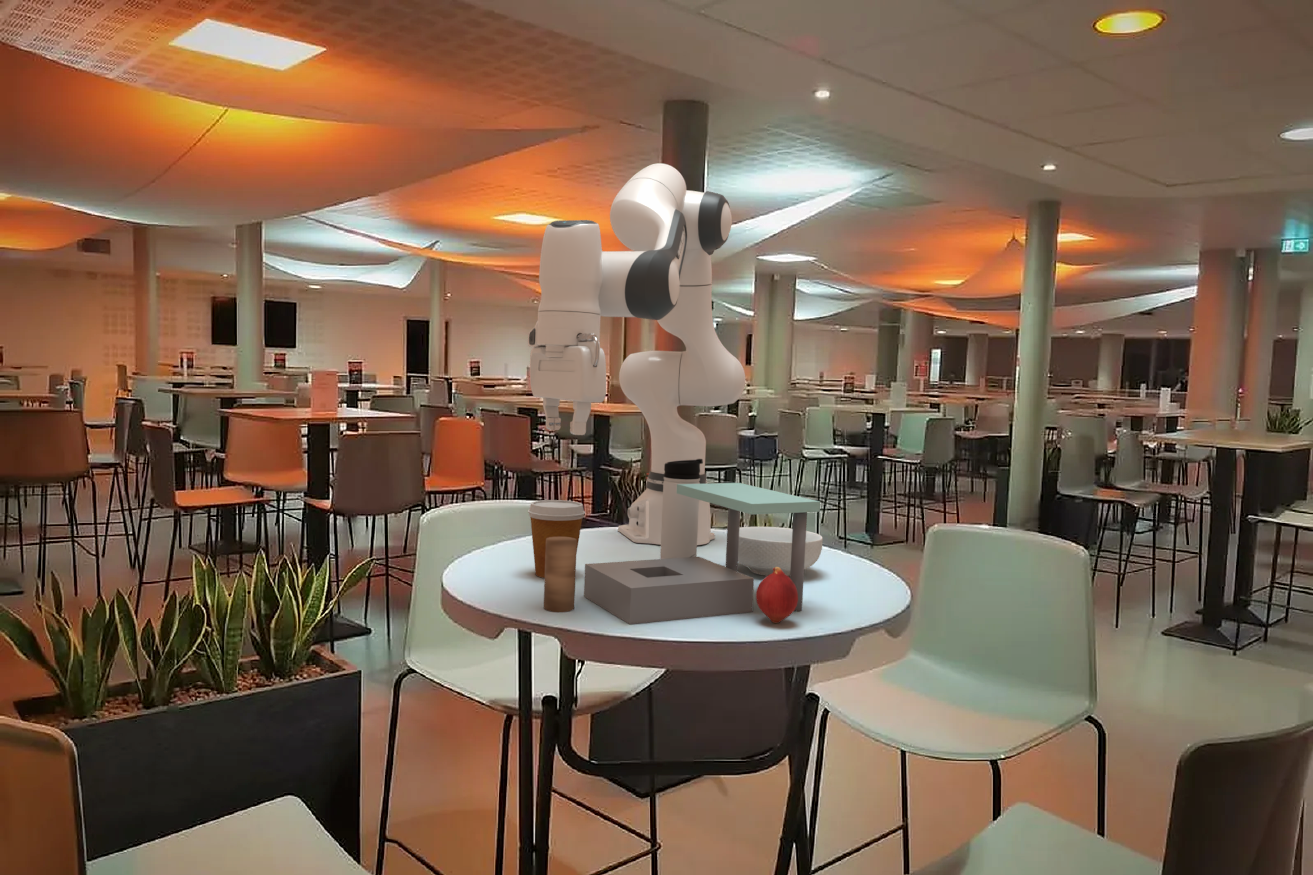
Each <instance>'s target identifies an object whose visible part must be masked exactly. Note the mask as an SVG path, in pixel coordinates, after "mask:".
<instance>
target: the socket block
mask: <svg viewBox="0 0 1313 875" xmlns="http://www.w3.org/2000/svg"><path fill="white" fill-rule="evenodd" d="M754 582H755V578H754V577H752V576H749V575H746V574H745V573H742V572H739V571H738V570H737V571H734V570H732V569H729V568H727V567H726V566H724V565H721V564H720V563H716V562H714V561H711V560H708V559H705V558H704V557H701V556H696V557H685V558H670V559H660V558H659V559H657V558H655V559H643V560H642V559H641V560H628V561H627V560H626V561H612V562H611V561H609V562H595V563H594V562H593V563H584V584H583V597H584V598H586V599H588V600H589V601H591V602H592V603H595V604H596V605H597V606H599V607H600V608H602V609H604V610H605V611H607V612H609V613H610V614H612V615H614V616H616V617H617V618H618V619H620V620H622V621H623V622H625V623H626V624H628V625H635V624H644V623H645V624H647V623H655V622H664V621H666V622H667V621H674V620H675V621H676V620H683V619H694V618H695V619H696V618H703V617H713V616H722V615H723V616H725V615H736V614H743V613H745V614H746V613H752V612H753V606H754V605H753V603H754V602H753V601H754Z"/></svg>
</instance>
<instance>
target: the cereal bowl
mask: <svg viewBox="0 0 1313 875" xmlns="http://www.w3.org/2000/svg"><path fill="white" fill-rule="evenodd" d="M792 532H793V528H788V527H778V526H776V527H775V526H742V527H741V526H740V528H739V548H738V563H739V564H741V565H742V566H744V567H747V568H748V569H749V570H750V572H752V573H754V574H756V575H760V576H765V577H767V576H768V575H770V574H772V573H773V568H775V567H779V568H780V569H781V570H782V571H783V572H784V574H786V575H787V576H788V577H790V569H791V550H792ZM823 541H824V540H823V536H822V535H821V534H819V533H816V532H813V531H808V530H806V544H805V562H804V570H806V569H809V568H810V567H812V566H813V565H814V564H815V563H816V562H818V560H819V558H820V556H821V553H822V550H823Z"/></svg>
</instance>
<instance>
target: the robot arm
mask: <svg viewBox="0 0 1313 875" xmlns="http://www.w3.org/2000/svg"><path fill="white" fill-rule="evenodd" d="M732 217H733V216H732V211H731V208H730V203H729V201H728V199H726V197H725V196H724V195H723V194H720V193H717V192H712V191H705V192H703V191H695V190H687V184H686V180H685V178H684V177H683V175H682V174H681V173H680V171H679V170H678V169H676V168H675V167H674V166H672V165H669V164H667V163H660V162H659V163H653V164H650V165H648V166H645V167H644V168H642V169H641V170H639V171H637V172H636V173H635V174H633V176H632V177H631V178H630V179H628V180H627V182H625V184H624V185H623V186H622V188H621V189H620V190H619V191H618V192H617V194H616V196H615V197H614V198H613V201H612V203H611V207H610V211H609V221H610V225H611V229H612V232H613V233H614V235H615V237H616V238H617V239H618V240H619V242H620V243H621V244H623V246H625V247H626V248H628V249H629V250H631V251H629V250H628V251H625V250H623V251H621V250H620V251H619V250H618V251H615V250H614V251H612V250H611V251H608V250H607V251H604V250H603V249H602V248H603V246H602V236H601V228H600V225H599V223H598V222H595V220H590V219H589V220H588V219H580V220H579V219H578V220H577V219H576V220H575V219H573V220H555V221H552V222H550V223H549V224H547V225H546V227H545V230H544V234H543V238H542V243H541V250H540V259H539V273H538V283H539V286H540V292H541V295H540V296H541V297H540V302H539V305H538V309H537V321H536V322H535V325H534V326H533V328H532V329H531V330H530V331H529V332H528V334H527V346H528V347H529V348H531V350H530V357H529V379H530V380H529V383H530V389H531V393H532V396H533V397H534V398H542V408H543V411H544V415H545V429H547V430H550V431H559V430H560V429H561V427H562V426H561V421H562V418H561V417H560V414H559V413H560V412H559V407H560V402H561V401H562V400H563V401H572V409H573V410H574V411H573V415H572V421H570V422H569V427H570V429H569V433H570V434H572V435H575V436H585V434H586V432H587V422H588V419H589V417H590V414H591V412H592V403H603V402H604V400H605V398H606V395H607V364H606V363H607V362H606V354H605V352H604V349H603V347H601V343H600V341H601V340H600V339H601V317H606V318H609V317H611V318H637V319H642V320H643V319H644V320H654V321H657V323H658V324H659V326H660V327H661V328H662V329H663V330H664V331H665V332H667V333H669V334H671V335H672V336H675V337H677V338H678V339H680V340H681V341H682V342H683V344H684V346H685V350H683V351H674V350H673V351H671V350H647V351H640V352H634V353H630V354H628V356H627V357H626V358H625V359H624V360H623V362H622V364H621V366H620V370H619V374H618V378H619V385H620V386H619V387H620V388H621V390H622V393H623V394H624V396H625V397H626V399H628V400H629V401H631V402H632V403H633V404H634V405H635V406H636V408H638V409H639V411H640V412H641V413H642V415H643V417H644V418H645V421H646V423H647V426H648V428H649V433H650V444H651V446H650V448H651V463H650V465H651V467H650V471H649V472H647V473H646V475H647V477H645V479H646V484H645V487H646V488H645V490H644V491H643V492H642V493H641V494H640V495H639V497H637V498H636V499H635V501H633V502H632V503H631V505H630V507H628V508H627V517H628V520H629V522H628V523H626V524H622V525H618V527H617V531H618V532H619V533H621V534H622V535H623V536H625V537H626V538H627V539H629V540H630V541H632V542H633V543H639V544H651V545H652V544H653V545H659V546H661V528H662V505H663V481H664V473H665V471H664V466H665V463H667V462H672V461H682V460H697V459H702V460H703V463H702V464H700V473H699V474H700V481H699V482H700V484H707V483H708V481H707V480H708V479H707V474H706V472H705V471H706V470H705V468H706V453H707V452H706V451H707V450H706V448H707V440H706V437H705V434H704V433H703V431H702V430H701V429H699V428H698V427H697V426H696V425H694V424H692V423H690V422H689V421H686V420H685V419H683V418H682V417H681V416H680V415H679V413H678V407H679V406H695V407H718V406H719V407H720V406H724V405H725V406H726V405H727V406H728V405H732V404H735V403H736V402H737V401H738V400H739V399H740V397H741V396H742V395H743V392H744V390H745V387H746V374H745V373H746V372H745V369H744V367H743V365H742V363H741V362H740V361H739V359H737V357H735V356H734V355H733V354H732V353H731V352H730V351H729V350H728V349H727V348H726V347H725V346H724V345H723V344H722V342H721V340H720V338H719V336H718V334H717V332H716V329H715V326H714V322H713V308H712V307H713V306H712V299H713V298H712V294H713V293H712V292H713V291H712V288H713V286H712V283H713V270H712V268H713V267H712V257H711V255H713V254H714V252H715V251H717V250H719V249H721V248H722V246H724V245H725V243H726V242H727V241H728V239H729V237H730V236H729V235H730V232H731V229H732V225H733V223H732V222H733V218H732ZM710 505H711V503H709V502H705V501H702V500H699V511H698V533H697V546H701V545H706V544H709V543H710V542H711V541H712V540H715V539H716V535H715V533H714V532H712V531H711V529H712V528H711V506H710Z"/></svg>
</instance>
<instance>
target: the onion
mask: <svg viewBox="0 0 1313 875" xmlns="http://www.w3.org/2000/svg"><path fill="white" fill-rule="evenodd" d="M760 581H761V582H760V583H759V584H758V585H757V588H756V593H755V599H756V605H757V606H758V609H760V611H761V612H762V613H763V614H764V615H765V616H766V617H767V618H768V619H769V620H770V621H771V622H772V623H773V624H778V623H780V622H782V621H783V620H785V619H786V618H788V617H789V616H790V615H791V614H793V612H795V611H794V610H795V608H796V606H797V602H798V593H797V589H796V586H795V584H794V583H793V581H792V580H791V579H790V576H787V575H786V574H784V572H783V571H782V570H781V569H780V568H779V567H775V568H773V573H772V574H770V575H768V576H765V577H764V578H763V579H762V580H760Z"/></svg>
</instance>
